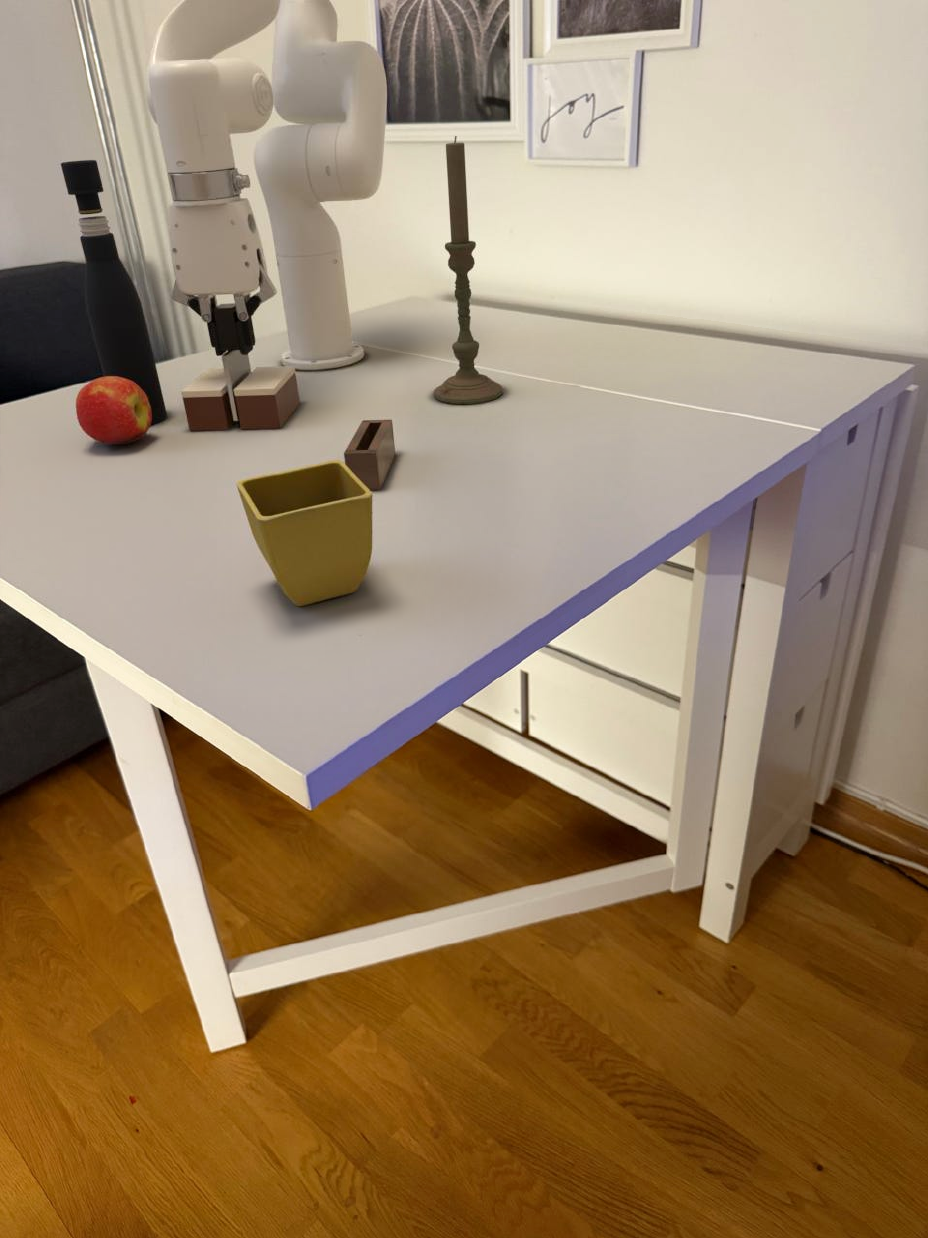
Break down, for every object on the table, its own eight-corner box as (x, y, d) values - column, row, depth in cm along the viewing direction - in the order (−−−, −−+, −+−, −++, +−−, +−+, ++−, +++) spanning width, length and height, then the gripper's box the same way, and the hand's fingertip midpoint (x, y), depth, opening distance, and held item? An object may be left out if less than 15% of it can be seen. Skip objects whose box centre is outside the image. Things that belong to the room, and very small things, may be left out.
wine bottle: (152, 428, 113) (88, 162, 98) (106, 427, 115) (36, 165, 99) (176, 412, 119) (118, 157, 103) (132, 411, 120) (69, 160, 105)
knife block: (366, 454, 101) (362, 419, 99) (395, 453, 100) (392, 419, 98) (348, 490, 92) (343, 453, 90) (380, 489, 91) (376, 452, 89)
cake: (215, 406, 120) (208, 368, 117) (251, 405, 119) (245, 367, 117) (189, 430, 111) (180, 391, 109) (228, 429, 111) (220, 389, 108)
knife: (245, 403, 118) (227, 299, 112) (263, 402, 118) (246, 299, 112) (226, 421, 111) (205, 312, 105) (245, 420, 111) (225, 311, 105)
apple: (130, 456, 104) (113, 388, 100) (70, 453, 107) (51, 386, 103) (169, 434, 111) (154, 369, 107) (111, 431, 113) (94, 367, 109)
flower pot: (278, 626, 69) (258, 518, 64) (254, 579, 76) (234, 479, 71) (386, 598, 72) (374, 493, 67) (353, 555, 79) (340, 458, 74)
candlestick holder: (513, 386, 120) (506, 131, 105) (486, 407, 113) (474, 137, 98) (452, 381, 124) (436, 134, 108) (421, 401, 116) (400, 140, 101)
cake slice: (263, 404, 119) (257, 366, 117) (300, 403, 119) (294, 365, 116) (240, 429, 111) (233, 389, 108) (280, 428, 110) (273, 388, 108)
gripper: (282, 181, 104) (305, 342, 113) (149, 188, 106) (183, 347, 115) (264, 187, 98) (290, 358, 107) (123, 195, 99) (161, 362, 109)
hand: (234, 351), depth 111 cm, fingers closed on knife, 2 cm apart
